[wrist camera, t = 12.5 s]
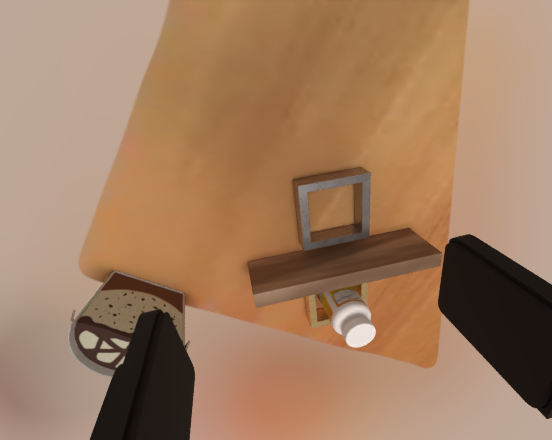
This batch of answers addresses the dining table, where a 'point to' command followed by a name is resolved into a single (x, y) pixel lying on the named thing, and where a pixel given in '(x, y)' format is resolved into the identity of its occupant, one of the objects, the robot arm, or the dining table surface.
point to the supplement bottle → (349, 315)
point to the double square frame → (334, 235)
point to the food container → (119, 320)
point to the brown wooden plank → (339, 266)
